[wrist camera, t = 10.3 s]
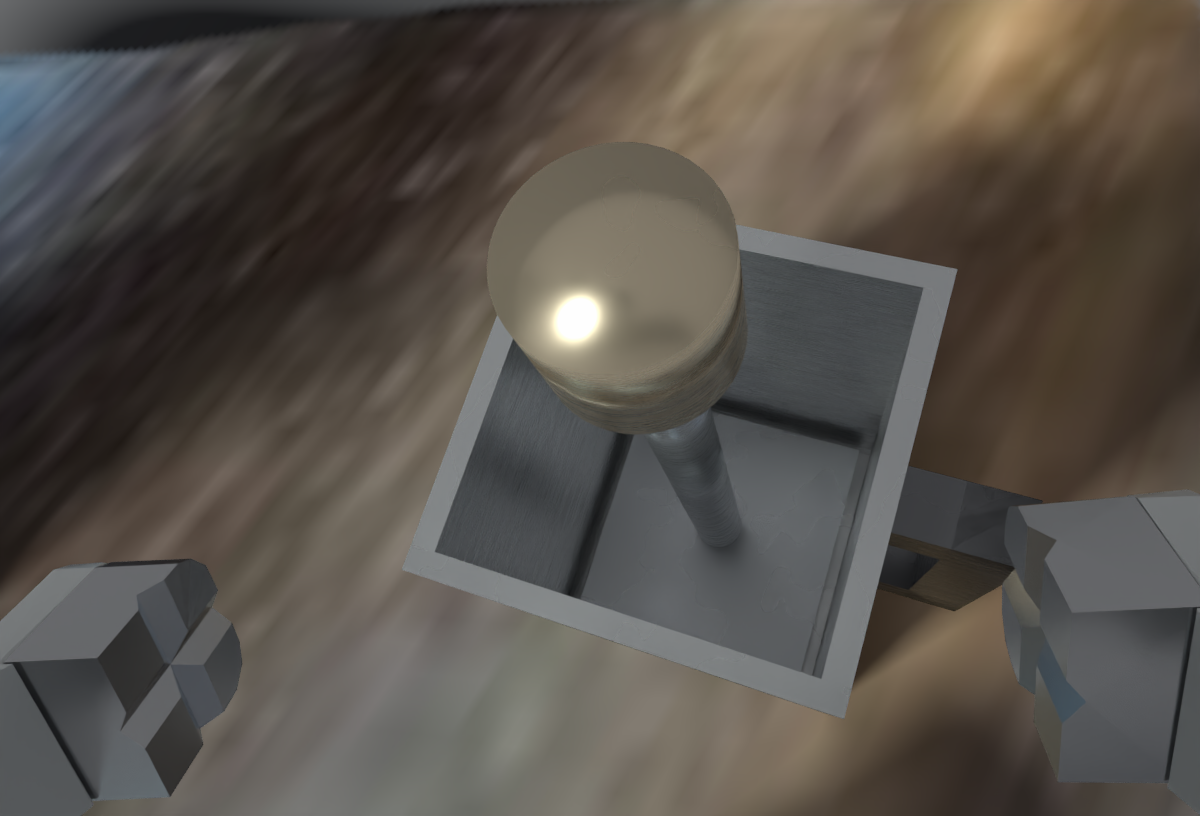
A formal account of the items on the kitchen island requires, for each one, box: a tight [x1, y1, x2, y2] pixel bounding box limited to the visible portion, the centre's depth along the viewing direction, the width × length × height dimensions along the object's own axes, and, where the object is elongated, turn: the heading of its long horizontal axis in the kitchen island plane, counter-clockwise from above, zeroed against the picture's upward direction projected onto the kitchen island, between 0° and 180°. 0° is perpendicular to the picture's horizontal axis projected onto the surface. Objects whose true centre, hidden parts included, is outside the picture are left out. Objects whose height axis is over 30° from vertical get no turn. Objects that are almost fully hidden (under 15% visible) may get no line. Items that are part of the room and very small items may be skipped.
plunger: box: [487, 142, 860, 672], centre depth 24 cm, size 8×8×22 cm
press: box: [402, 225, 1043, 719], centre depth 28 cm, size 13×10×16 cm
